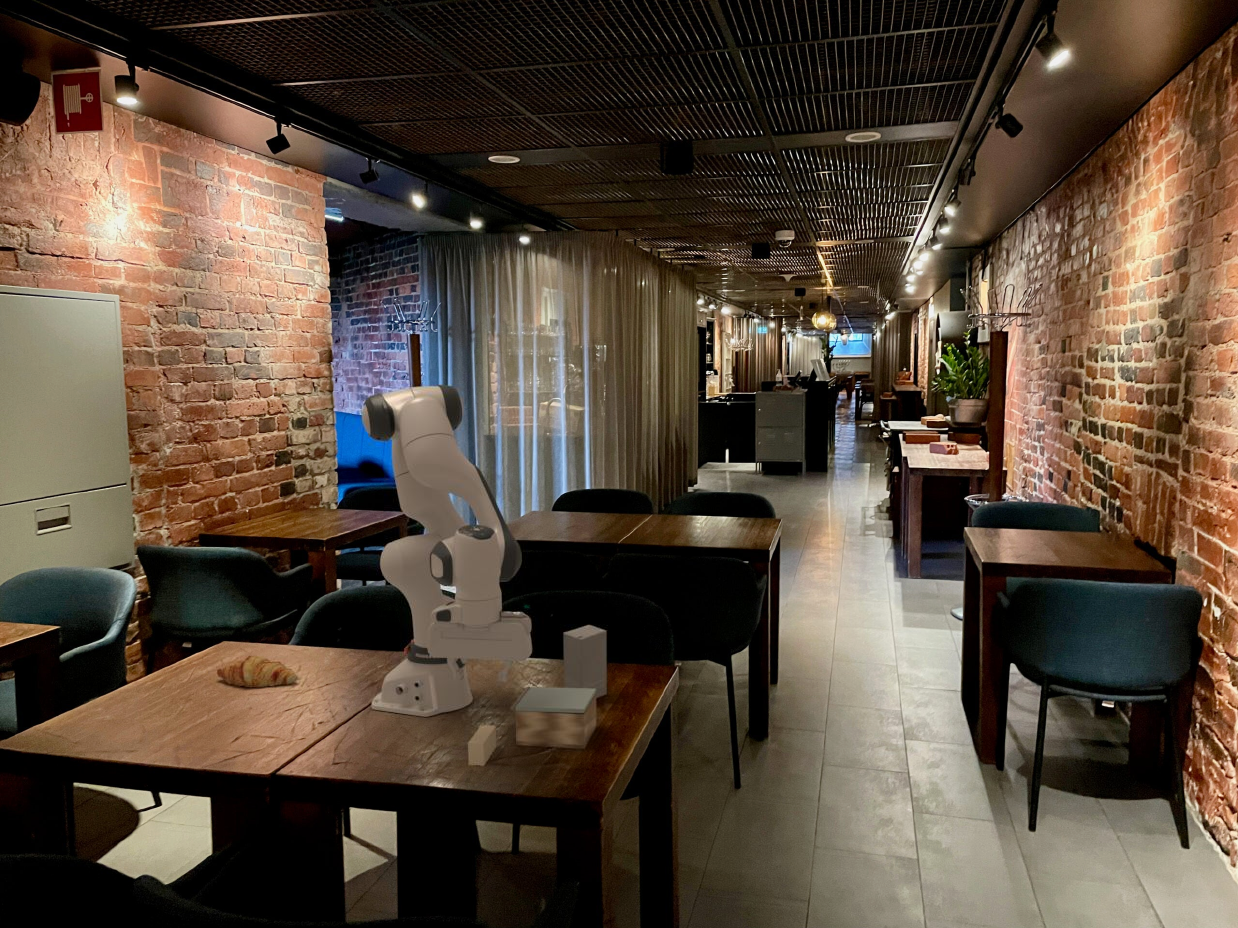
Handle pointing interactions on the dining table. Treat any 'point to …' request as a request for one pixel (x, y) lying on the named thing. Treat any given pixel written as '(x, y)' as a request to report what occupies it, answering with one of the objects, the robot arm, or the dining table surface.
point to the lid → (554, 699)
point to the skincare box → (586, 659)
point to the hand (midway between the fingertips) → (480, 680)
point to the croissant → (257, 673)
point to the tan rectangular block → (482, 745)
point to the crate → (556, 728)
